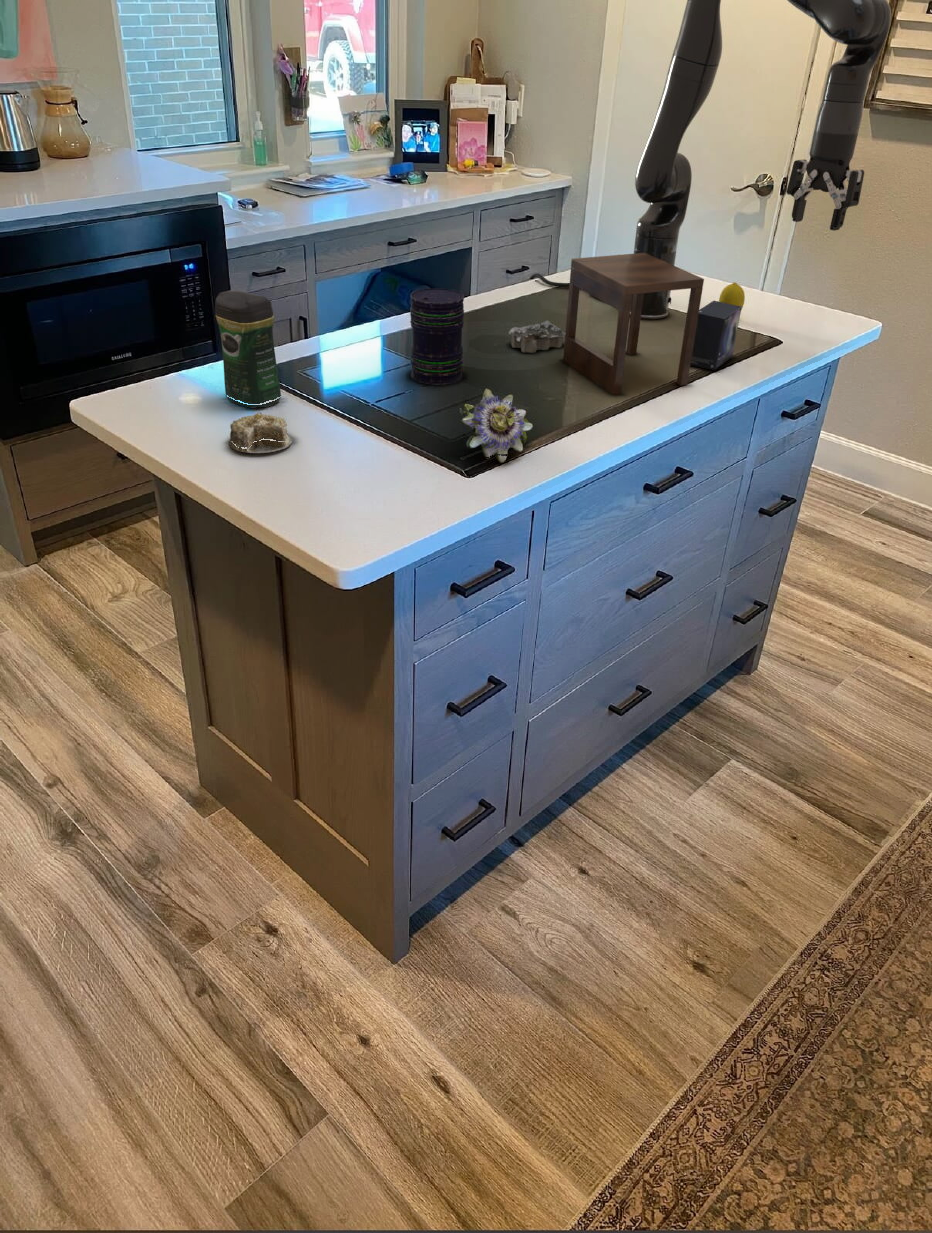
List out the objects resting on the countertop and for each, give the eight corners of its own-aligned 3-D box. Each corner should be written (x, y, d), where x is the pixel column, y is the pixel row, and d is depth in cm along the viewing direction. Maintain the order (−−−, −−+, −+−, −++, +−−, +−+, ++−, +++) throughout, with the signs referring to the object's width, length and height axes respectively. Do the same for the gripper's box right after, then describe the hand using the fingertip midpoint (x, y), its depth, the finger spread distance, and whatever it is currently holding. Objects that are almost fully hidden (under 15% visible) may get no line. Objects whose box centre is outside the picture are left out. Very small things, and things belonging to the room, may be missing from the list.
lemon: (744, 318, 215) (751, 282, 210) (736, 324, 211) (742, 287, 206) (720, 313, 217) (727, 278, 213) (712, 319, 213) (718, 283, 209)
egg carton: (525, 355, 190) (526, 335, 188) (505, 344, 196) (506, 324, 193) (568, 347, 195) (569, 327, 193) (547, 336, 200) (548, 317, 198)
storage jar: (438, 363, 185) (438, 285, 177) (473, 376, 179) (475, 296, 171) (399, 374, 179) (398, 294, 171) (435, 388, 173) (435, 306, 165)
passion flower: (499, 491, 151) (473, 449, 141) (461, 456, 157) (433, 413, 147) (552, 445, 151) (529, 399, 141) (512, 411, 157) (487, 365, 147)
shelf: (563, 360, 188) (571, 258, 177) (632, 352, 193) (644, 252, 182) (613, 395, 173) (626, 286, 162) (687, 385, 178) (704, 278, 167)
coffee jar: (289, 401, 167) (280, 294, 156) (254, 413, 162) (242, 303, 151) (253, 387, 172) (242, 282, 161) (218, 399, 167) (204, 292, 156)
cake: (218, 443, 152) (213, 411, 150) (274, 430, 157) (270, 399, 155) (246, 460, 145) (241, 426, 143) (303, 446, 151) (300, 413, 148)
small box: (716, 371, 185) (725, 318, 179) (684, 365, 187) (693, 312, 181) (734, 357, 192) (743, 305, 186) (703, 351, 195) (712, 299, 189)
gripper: (884, 133, 165) (860, 231, 174) (817, 123, 175) (797, 216, 184) (857, 135, 162) (834, 235, 171) (790, 125, 171) (772, 220, 180)
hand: (815, 225), depth 177 cm, fingers open, 8 cm apart
